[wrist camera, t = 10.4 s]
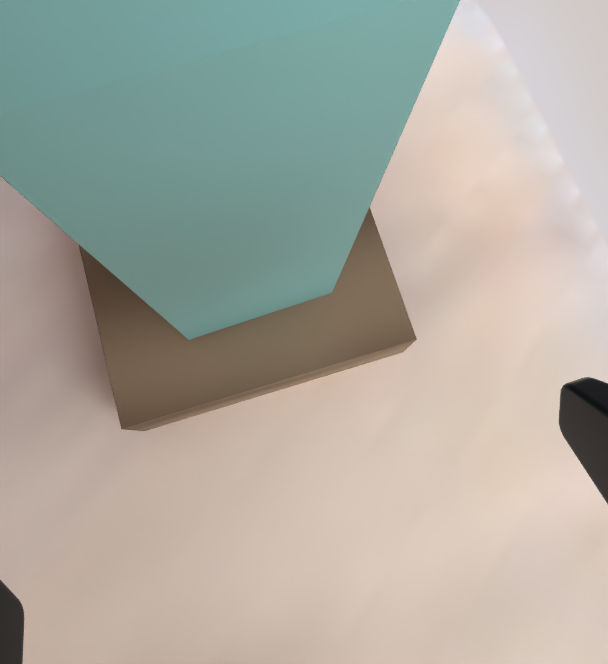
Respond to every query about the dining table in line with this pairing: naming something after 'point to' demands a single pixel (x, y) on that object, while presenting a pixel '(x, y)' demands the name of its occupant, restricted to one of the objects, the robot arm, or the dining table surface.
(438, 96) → the dining table surface
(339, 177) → the pillar
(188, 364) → the slab
